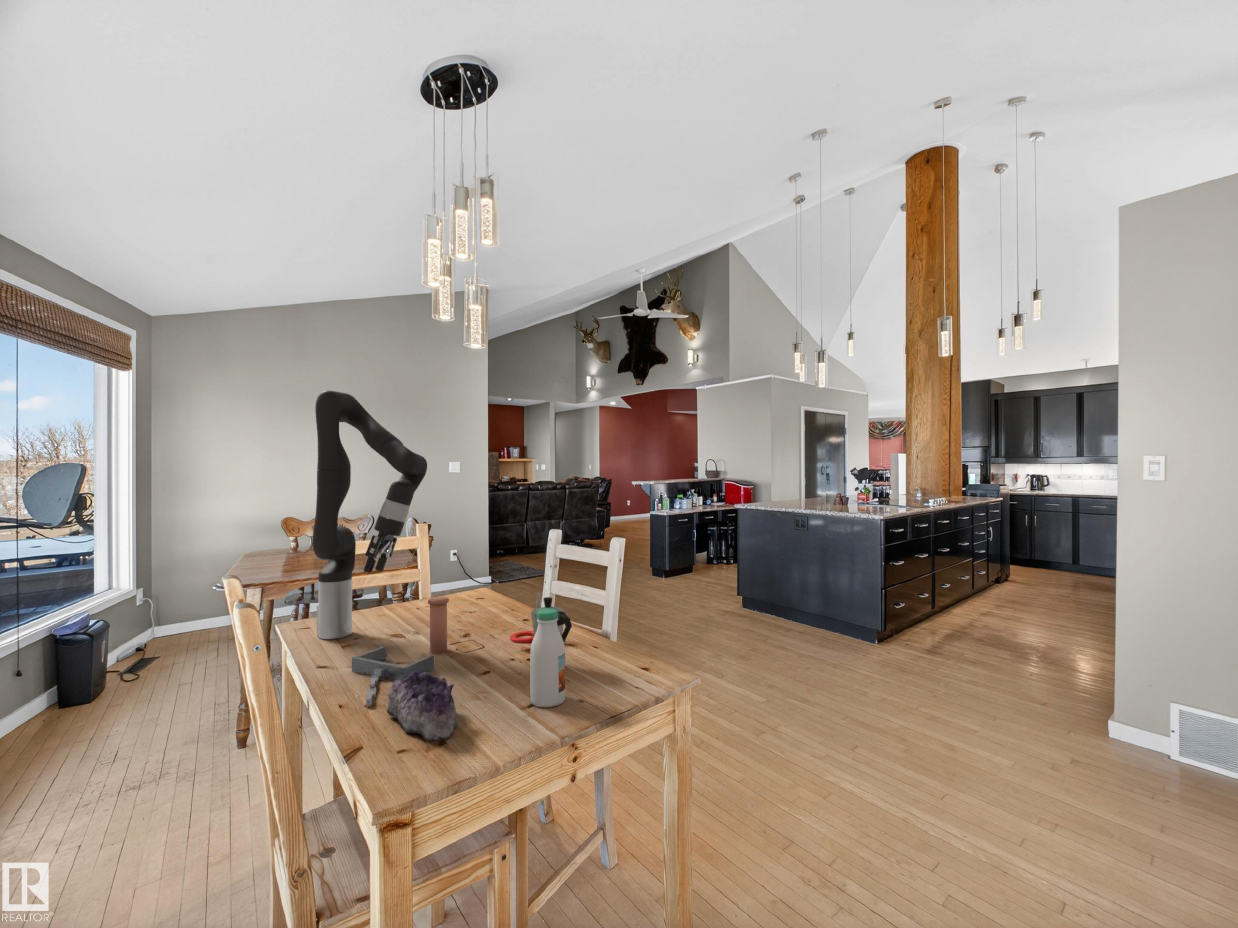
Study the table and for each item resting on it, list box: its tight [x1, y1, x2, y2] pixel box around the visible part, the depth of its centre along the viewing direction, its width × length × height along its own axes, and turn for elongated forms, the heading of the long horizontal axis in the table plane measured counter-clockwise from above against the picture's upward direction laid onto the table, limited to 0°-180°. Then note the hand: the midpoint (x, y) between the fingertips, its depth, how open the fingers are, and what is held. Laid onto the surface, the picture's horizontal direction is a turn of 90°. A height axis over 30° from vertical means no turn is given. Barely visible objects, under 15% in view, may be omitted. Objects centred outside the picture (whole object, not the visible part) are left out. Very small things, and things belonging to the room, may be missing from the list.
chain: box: [365, 675, 380, 708], centre depth 127 cm, size 2×17×2 cm, turn 20°
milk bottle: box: [529, 609, 566, 708], centre depth 122 cm, size 8×8×20 cm
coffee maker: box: [530, 596, 573, 643], centre depth 141 cm, size 15×9×18 cm, turn 47°
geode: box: [386, 671, 458, 743], centre depth 112 cm, size 20×12×10 cm, turn 43°
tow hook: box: [509, 592, 542, 644], centre depth 166 cm, size 9×14×10 cm
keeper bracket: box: [351, 645, 435, 682], centre depth 140 cm, size 18×11×4 cm, turn 65°
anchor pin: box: [427, 596, 450, 655], centre depth 155 cm, size 6×6×15 cm
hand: (373, 571), depth 158 cm, fingers open, 8 cm apart
